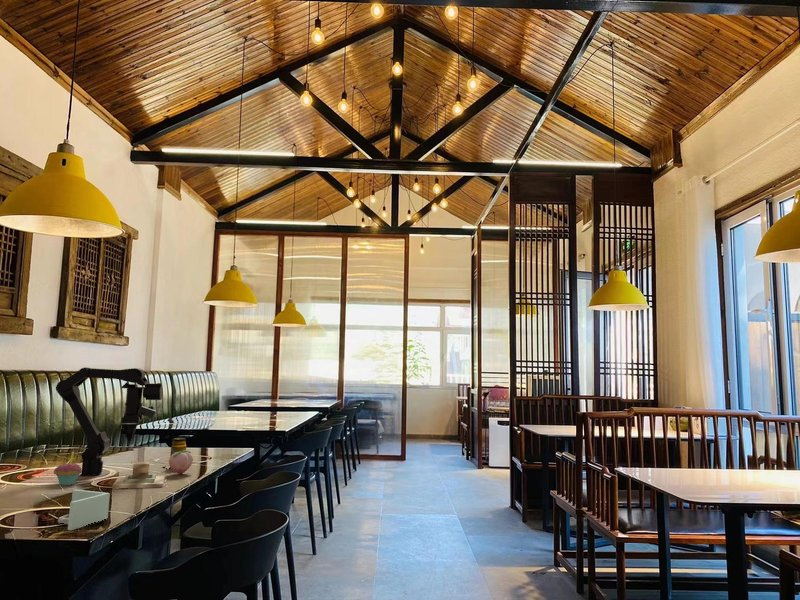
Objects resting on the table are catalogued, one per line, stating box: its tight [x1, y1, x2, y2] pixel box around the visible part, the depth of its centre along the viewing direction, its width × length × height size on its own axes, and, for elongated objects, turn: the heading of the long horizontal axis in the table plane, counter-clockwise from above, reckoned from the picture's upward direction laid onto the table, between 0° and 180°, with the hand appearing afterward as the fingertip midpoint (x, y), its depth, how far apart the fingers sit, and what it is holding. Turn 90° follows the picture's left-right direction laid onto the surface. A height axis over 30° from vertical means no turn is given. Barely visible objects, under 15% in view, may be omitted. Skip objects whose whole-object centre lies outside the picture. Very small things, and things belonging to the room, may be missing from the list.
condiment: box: [162, 437, 187, 468], centre depth 237 cm, size 7×8×12 cm
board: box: [111, 473, 166, 490], centre depth 202 cm, size 16×16×2 cm
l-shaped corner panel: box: [57, 489, 111, 531], centre depth 150 cm, size 12×12×8 cm
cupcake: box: [53, 449, 82, 486], centre depth 199 cm, size 9×8×12 cm
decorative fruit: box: [168, 449, 194, 475], centre depth 221 cm, size 9×8×10 cm
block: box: [131, 461, 151, 479], centre depth 202 cm, size 5×5×6 cm
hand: (130, 440), depth 221 cm, fingers open, 9 cm apart
